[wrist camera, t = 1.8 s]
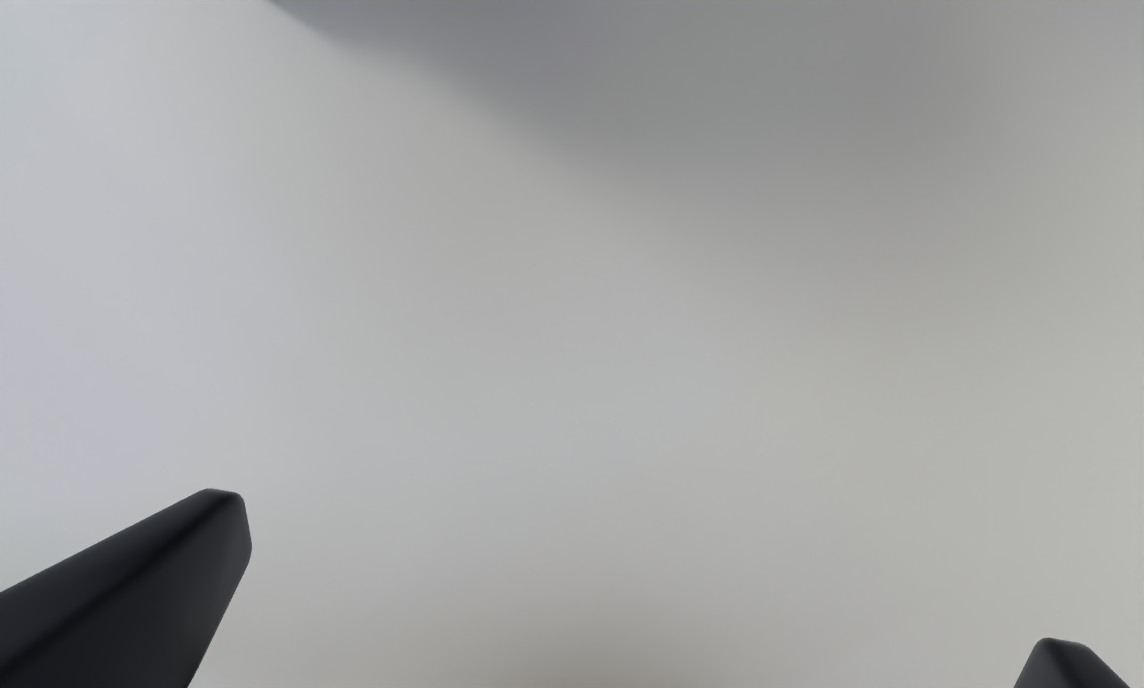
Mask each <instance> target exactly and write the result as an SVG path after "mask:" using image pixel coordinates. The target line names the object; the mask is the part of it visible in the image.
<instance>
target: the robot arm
mask: <svg viewBox="0 0 1144 688" xmlns="http://www.w3.org/2000/svg"><path fill="white" fill-rule="evenodd" d="M251 551H252V542H251V536H250V531H249V525H248V520H247V514H246V508H245V503H244V500H243V498H242V497H241V496H240V495H239V494H237V493H235V492H229V491H224V490H218V489H212V488H211V489H204V490H201V491H199V492H197V493H195V494H193V495H191V496H189V497H187V498H185V499H183V500H181V501H179V502H177V503H175V504H173V505H171V506H169V507H167V508H165V509H164V510H162V511H160V512H158V513H156V514H154V515H152V516H150V517H148V518H146V519H144V520H142V521H140V522H138V523H136V524H134V525H132V526H130V527H128V528H126V529H124V530H122V531H120V532H118V533H116V534H114V535H112V536H110V537H108V538H106V539H104V540H102V541H101V542H99V543H97V544H95V545H93V546H91V547H89V548H87V549H85V550H83V551H81V552H79V553H77V554H75V555H73V556H71V557H69V558H67V559H65V560H63V561H61V562H59V563H57V564H55V565H53V566H51V567H49V568H47V569H45V570H43V571H41V572H39V573H38V574H36V575H34V576H32V577H30V578H28V579H26V580H24V581H22V582H20V583H18V584H16V585H14V586H12V587H10V588H8V589H6V590H4V591H2V592H0V688H187V687H188V686H189V684H190V682H191V680H192V679H193V677H194V675H195V673H196V671H197V669H198V667H199V665H200V663H201V661H202V659H203V657H204V655H205V653H206V651H207V649H208V647H209V645H210V642H211V640H212V638H213V636H214V634H215V632H216V630H217V628H218V626H219V624H220V622H221V620H222V617H223V615H224V613H225V611H226V609H227V607H228V605H229V603H230V601H231V599H232V597H233V595H234V592H235V590H236V588H237V586H238V584H239V582H240V580H241V578H242V576H243V574H244V572H245V570H246V568H247V565H248V563H249V560H250V556H251ZM1014 688H1130V687H1129V686H1128V685H1127V684H1126V683H1125V682H1124V681H1123V680H1122V679H1121V678H1120V677H1119V676H1118V675H1117V674H1116V673H1115V672H1114V671H1113V670H1111V669H1110V668H1109V667H1108V666H1107V665H1106V664H1105V663H1104V662H1103V661H1102V660H1101V659H1100V658H1099V657H1098V656H1097V655H1096V654H1095V653H1094V652H1093V651H1092V650H1091V649H1089V648H1088V647H1087V646H1085V645H1083V644H1080V643H1076V642H1070V641H1065V640H1059V639H1054V638H1043V639H1041V640H1040V641H1038V642H1037V644H1036V645H1035V647H1034V648H1033V650H1032V652H1031V654H1030V656H1029V658H1028V660H1027V662H1026V664H1025V666H1024V668H1023V670H1022V672H1021V674H1020V676H1019V678H1018V680H1017V682H1016V684H1015V686H1014Z"/></svg>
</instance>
